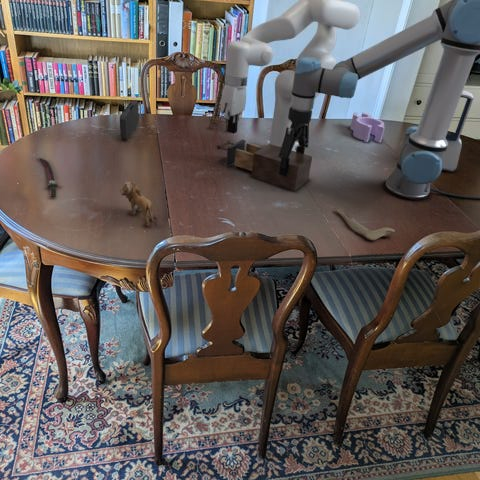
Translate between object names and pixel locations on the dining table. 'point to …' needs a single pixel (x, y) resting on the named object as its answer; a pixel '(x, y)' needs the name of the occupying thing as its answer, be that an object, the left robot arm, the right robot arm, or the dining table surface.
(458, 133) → the electronic device
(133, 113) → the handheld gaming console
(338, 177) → the dining table surface
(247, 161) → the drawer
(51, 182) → the sword
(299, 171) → the dark wooden block
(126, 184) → the lion figurine
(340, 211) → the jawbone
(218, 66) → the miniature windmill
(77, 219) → the dining table surface
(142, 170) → the dining table surface
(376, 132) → the clip
